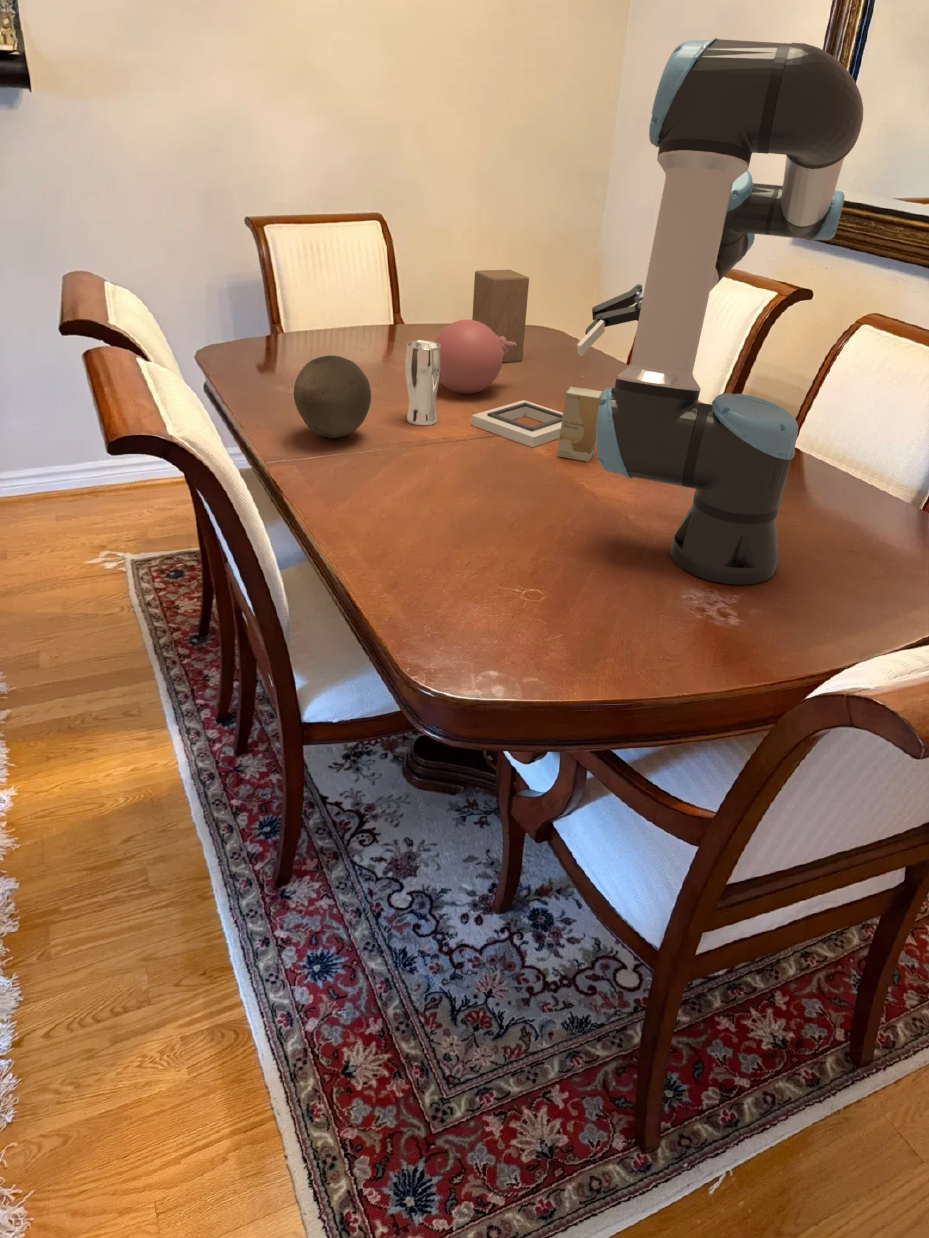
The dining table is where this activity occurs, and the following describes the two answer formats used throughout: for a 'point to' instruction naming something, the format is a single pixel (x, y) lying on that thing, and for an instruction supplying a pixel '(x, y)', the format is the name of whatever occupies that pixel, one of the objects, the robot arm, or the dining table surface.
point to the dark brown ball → (332, 396)
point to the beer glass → (422, 380)
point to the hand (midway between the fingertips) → (608, 369)
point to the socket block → (504, 425)
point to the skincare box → (579, 424)
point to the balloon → (470, 355)
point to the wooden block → (502, 306)
